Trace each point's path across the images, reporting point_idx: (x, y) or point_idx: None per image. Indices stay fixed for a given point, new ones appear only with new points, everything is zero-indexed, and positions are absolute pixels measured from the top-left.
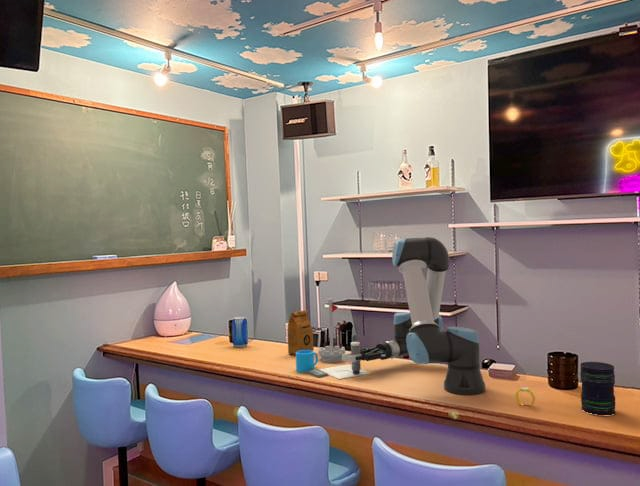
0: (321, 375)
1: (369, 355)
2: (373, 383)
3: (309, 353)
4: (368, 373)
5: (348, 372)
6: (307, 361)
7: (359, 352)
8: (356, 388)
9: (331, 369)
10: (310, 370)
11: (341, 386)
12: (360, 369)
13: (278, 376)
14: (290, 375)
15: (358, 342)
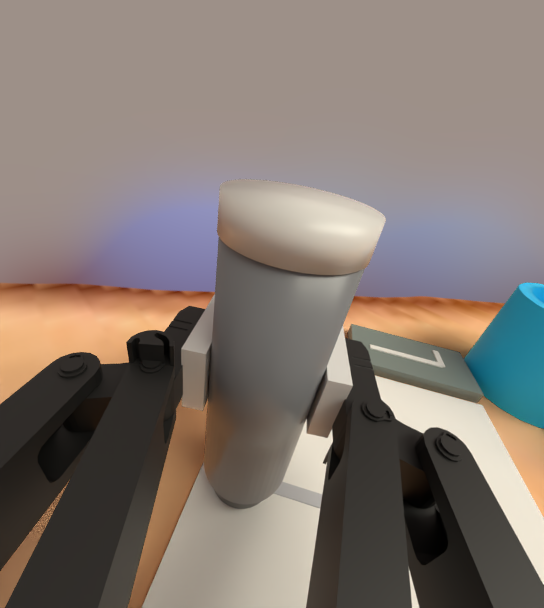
0: (351, 338)
1: (29, 387)
2: (14, 379)
3: (532, 300)
4: (143, 603)
5: (320, 472)
6: (494, 326)
7: (213, 333)
8: (102, 298)
9: None
10: (451, 358)
11: (180, 296)
12: (207, 478)
13: (434, 299)
14: (432, 316)
15: (273, 205)
